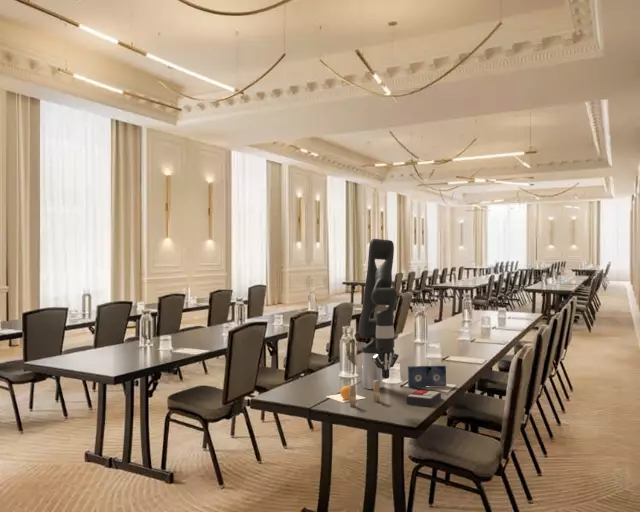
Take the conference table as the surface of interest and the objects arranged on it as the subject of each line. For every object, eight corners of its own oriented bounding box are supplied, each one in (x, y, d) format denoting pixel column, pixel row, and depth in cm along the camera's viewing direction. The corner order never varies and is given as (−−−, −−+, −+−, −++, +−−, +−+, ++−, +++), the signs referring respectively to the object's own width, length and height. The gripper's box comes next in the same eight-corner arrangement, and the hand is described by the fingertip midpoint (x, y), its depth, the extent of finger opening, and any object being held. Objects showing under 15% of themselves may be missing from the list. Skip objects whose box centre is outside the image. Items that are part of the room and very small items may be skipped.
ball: (347, 391, 247) (345, 403, 248) (357, 388, 251) (355, 400, 252) (339, 384, 251) (336, 396, 253) (348, 382, 255) (346, 393, 257)
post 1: (348, 406, 240) (348, 385, 240) (353, 405, 241) (353, 384, 241) (352, 407, 238) (351, 386, 238) (357, 406, 239) (356, 385, 239)
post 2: (372, 401, 247) (372, 380, 247) (377, 400, 249) (376, 380, 249) (376, 402, 245) (376, 382, 245) (380, 401, 247) (380, 381, 247)
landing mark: (325, 396, 257) (325, 396, 257) (348, 392, 264) (348, 392, 264) (342, 402, 246) (342, 402, 246) (365, 398, 253) (365, 397, 253)
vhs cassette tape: (445, 385, 275) (444, 365, 275) (446, 387, 272) (446, 366, 272) (407, 386, 275) (407, 366, 275) (408, 388, 272) (408, 367, 272)
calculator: (441, 391, 250) (431, 397, 237) (441, 401, 250) (431, 407, 237) (417, 389, 255) (406, 394, 242) (417, 398, 255) (406, 404, 242)
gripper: (391, 333, 238) (391, 374, 238) (366, 336, 231) (367, 379, 231) (403, 335, 232) (403, 377, 232) (378, 338, 225) (379, 382, 225)
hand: (385, 378), depth 232 cm, fingers closed
